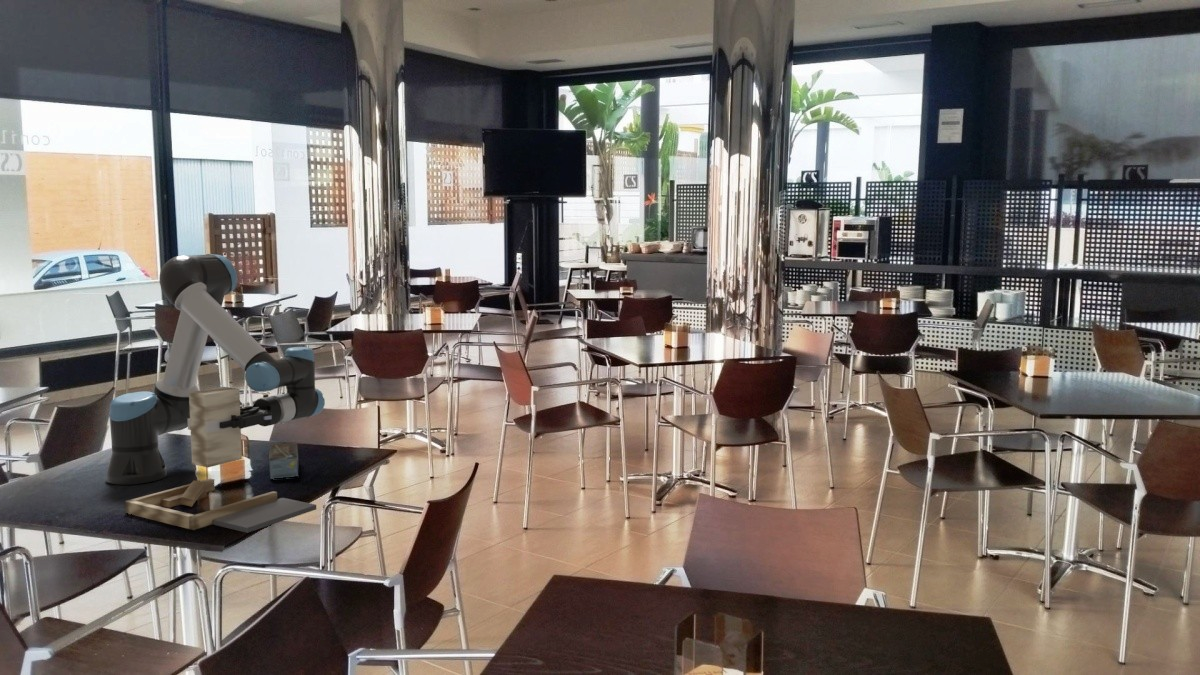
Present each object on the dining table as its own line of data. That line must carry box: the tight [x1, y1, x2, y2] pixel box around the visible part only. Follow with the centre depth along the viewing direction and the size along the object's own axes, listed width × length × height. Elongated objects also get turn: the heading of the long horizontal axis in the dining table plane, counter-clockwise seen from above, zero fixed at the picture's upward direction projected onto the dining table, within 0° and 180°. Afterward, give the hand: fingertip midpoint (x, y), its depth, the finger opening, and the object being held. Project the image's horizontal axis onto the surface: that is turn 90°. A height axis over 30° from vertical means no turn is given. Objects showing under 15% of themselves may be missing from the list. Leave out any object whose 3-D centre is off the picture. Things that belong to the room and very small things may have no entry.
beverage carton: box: [268, 442, 299, 480], centre depth 272 cm, size 8×19×7 cm, turn 18°
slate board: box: [212, 497, 317, 534], centre depth 229 cm, size 12×21×1 cm, turn 150°
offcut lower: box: [159, 490, 208, 509], centre depth 242 cm, size 4×11×2 cm, turn 150°
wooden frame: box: [124, 478, 278, 531], centre depth 236 cm, size 26×24×3 cm
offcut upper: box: [180, 480, 205, 508], centre depth 241 cm, size 3×9×2 cm, turn 4°
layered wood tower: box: [189, 386, 243, 468], centre depth 235 cm, size 6×10×18 cm, turn 150°
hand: (197, 425), depth 231 cm, fingers closed on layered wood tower, 6 cm apart
